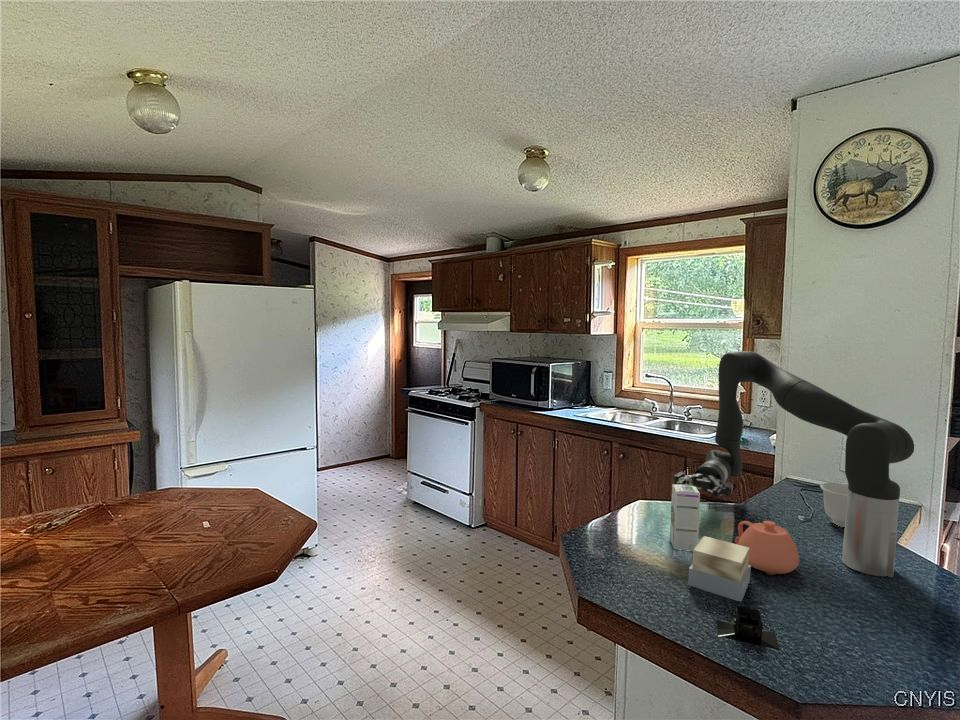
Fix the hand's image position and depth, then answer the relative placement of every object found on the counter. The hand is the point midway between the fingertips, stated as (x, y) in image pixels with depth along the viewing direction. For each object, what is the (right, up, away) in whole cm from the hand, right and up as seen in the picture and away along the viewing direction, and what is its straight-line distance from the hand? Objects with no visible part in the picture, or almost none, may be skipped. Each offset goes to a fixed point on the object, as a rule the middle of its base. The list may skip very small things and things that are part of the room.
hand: (696, 490), depth 133 cm
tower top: (-6, -9, -27) cm, 29 cm away
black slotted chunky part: (-10, -15, -44) cm, 47 cm away
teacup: (+45, -12, +9) cm, 47 cm away
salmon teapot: (+8, -13, -17) cm, 23 cm away
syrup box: (-7, -12, -8) cm, 16 cm away
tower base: (-6, -13, -26) cm, 30 cm away
